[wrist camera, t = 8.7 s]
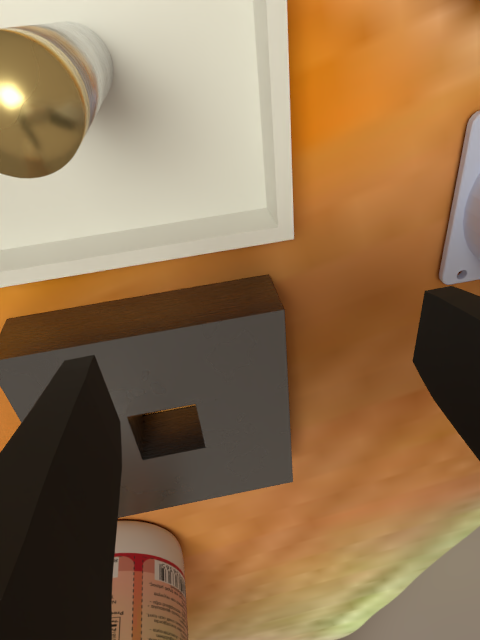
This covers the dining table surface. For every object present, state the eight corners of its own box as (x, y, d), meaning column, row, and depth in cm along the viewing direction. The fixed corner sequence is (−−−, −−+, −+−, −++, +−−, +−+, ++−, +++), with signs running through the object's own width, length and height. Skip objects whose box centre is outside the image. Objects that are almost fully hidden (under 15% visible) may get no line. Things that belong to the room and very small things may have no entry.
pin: (101, 16, 14) (58, 20, 7) (121, 101, 15) (100, 168, 9) (23, 26, 14) (-95, 39, 7) (50, 111, 15) (-27, 187, 8)
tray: (253, -274, 11) (276, -340, 9) (278, 213, 19) (294, 239, 17) (-300, -232, 10) (-415, -294, 8) (-37, 264, 18) (-63, 297, 16)
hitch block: (269, 274, 21) (284, 309, 18) (280, 440, 28) (292, 481, 25) (6, 319, 20) (-14, 362, 17) (87, 478, 27) (80, 525, 24)
